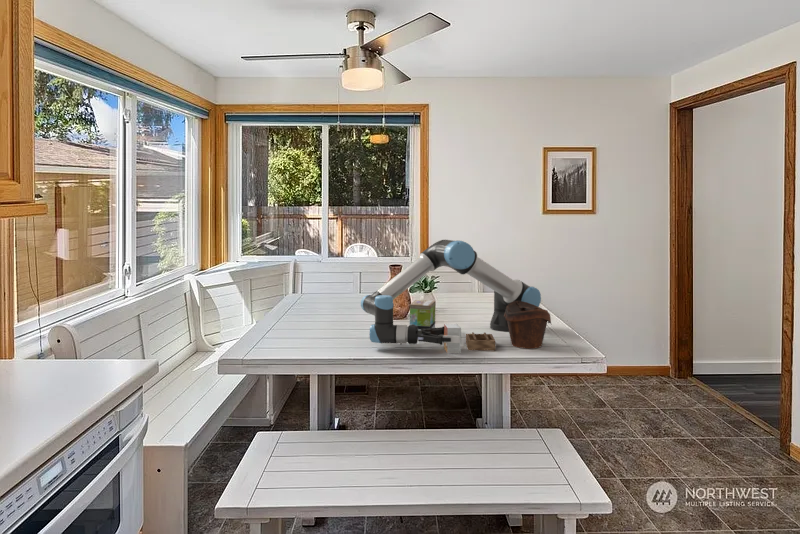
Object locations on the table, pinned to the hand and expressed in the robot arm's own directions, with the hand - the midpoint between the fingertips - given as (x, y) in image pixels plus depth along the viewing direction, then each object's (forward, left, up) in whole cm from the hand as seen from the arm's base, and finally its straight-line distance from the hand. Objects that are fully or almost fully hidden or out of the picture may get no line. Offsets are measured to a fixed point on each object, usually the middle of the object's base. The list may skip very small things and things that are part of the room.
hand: (460, 335), depth 237 cm
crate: (-9, -8, -6) cm, 14 cm away
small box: (+3, 0, -7) cm, 7 cm away
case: (-29, -11, -7) cm, 32 cm away
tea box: (+15, -33, -7) cm, 37 cm away
